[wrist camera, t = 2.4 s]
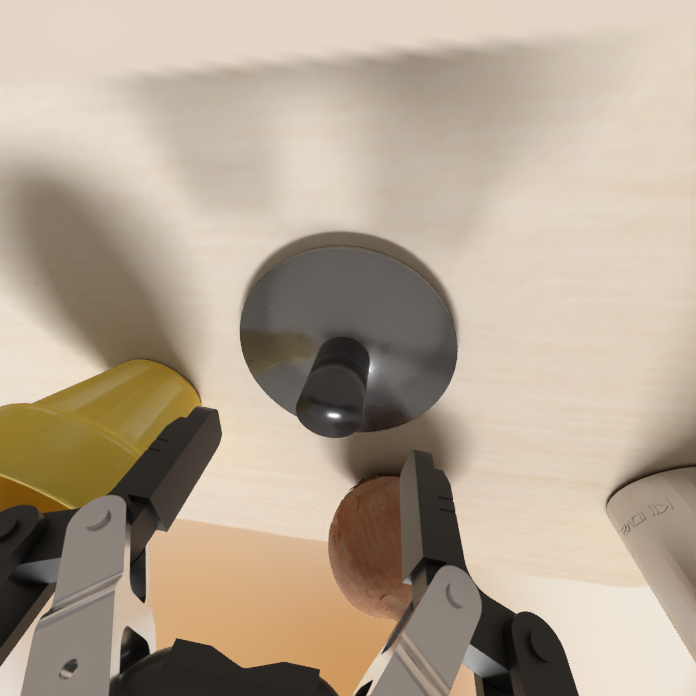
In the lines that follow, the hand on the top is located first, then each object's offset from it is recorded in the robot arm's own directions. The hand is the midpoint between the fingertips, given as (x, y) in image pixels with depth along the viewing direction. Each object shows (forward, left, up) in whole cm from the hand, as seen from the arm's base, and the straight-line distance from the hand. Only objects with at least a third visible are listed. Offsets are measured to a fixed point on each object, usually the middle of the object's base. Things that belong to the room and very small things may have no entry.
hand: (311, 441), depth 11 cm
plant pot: (+13, +7, -7) cm, 17 cm away
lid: (0, 0, -7) cm, 7 cm away
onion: (-6, +13, -7) cm, 16 cm away
